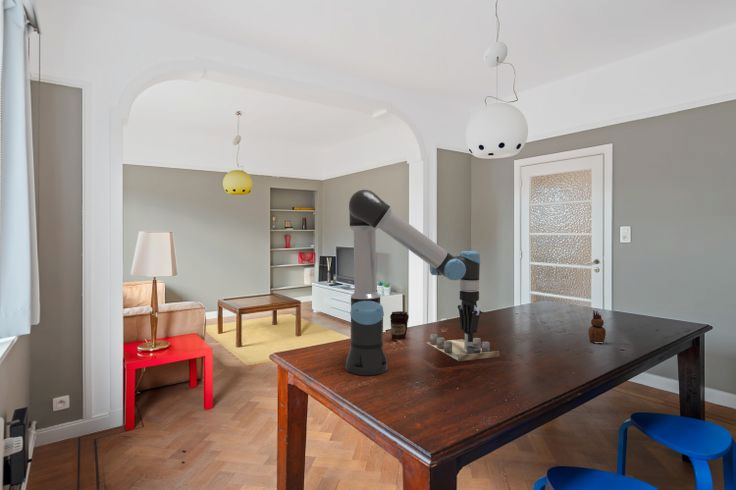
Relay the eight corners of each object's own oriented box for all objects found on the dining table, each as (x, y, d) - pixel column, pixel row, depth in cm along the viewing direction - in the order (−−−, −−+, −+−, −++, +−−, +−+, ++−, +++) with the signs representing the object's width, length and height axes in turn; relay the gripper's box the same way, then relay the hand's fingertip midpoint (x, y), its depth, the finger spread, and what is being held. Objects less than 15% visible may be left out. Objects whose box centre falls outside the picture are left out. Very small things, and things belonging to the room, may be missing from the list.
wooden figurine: (590, 344, 180) (591, 310, 180) (586, 340, 186) (587, 308, 185) (607, 345, 178) (608, 311, 178) (602, 341, 184) (603, 309, 184)
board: (458, 365, 150) (459, 350, 150) (426, 345, 175) (426, 333, 175) (499, 360, 156) (499, 346, 156) (462, 342, 181) (462, 330, 181)
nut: (470, 357, 154) (470, 349, 154) (463, 353, 159) (463, 346, 159) (483, 356, 156) (483, 348, 156) (476, 352, 161) (476, 344, 161)
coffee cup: (407, 344, 177) (407, 314, 177) (388, 342, 179) (388, 313, 179) (409, 338, 186) (409, 310, 185) (391, 337, 188) (391, 310, 187)
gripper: (487, 292, 155) (486, 353, 156) (468, 287, 167) (467, 344, 168) (470, 293, 152) (469, 355, 153) (452, 288, 164) (451, 345, 165)
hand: (468, 349), depth 160 cm, fingers closed
